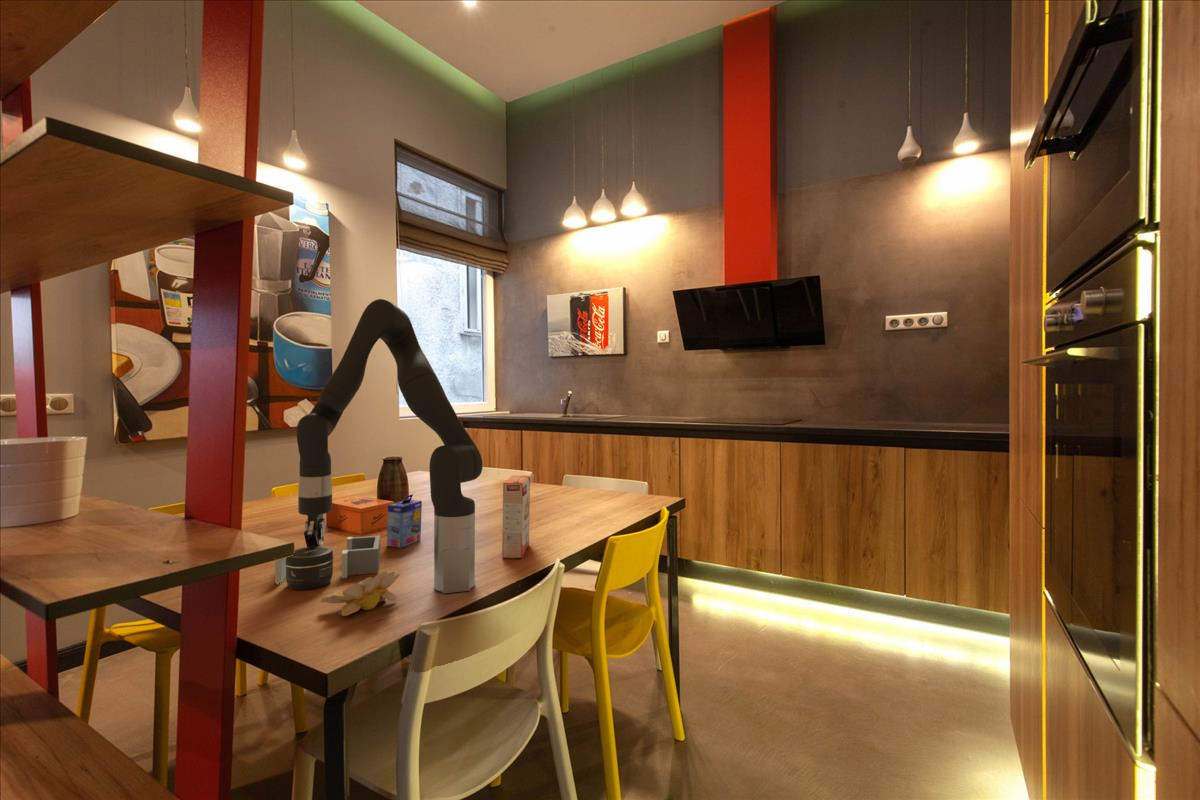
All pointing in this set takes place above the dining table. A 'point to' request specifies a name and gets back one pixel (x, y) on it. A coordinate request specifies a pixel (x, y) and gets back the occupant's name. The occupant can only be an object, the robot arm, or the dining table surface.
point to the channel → (349, 558)
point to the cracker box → (516, 516)
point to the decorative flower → (364, 593)
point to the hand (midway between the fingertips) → (315, 562)
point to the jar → (309, 568)
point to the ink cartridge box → (404, 522)
